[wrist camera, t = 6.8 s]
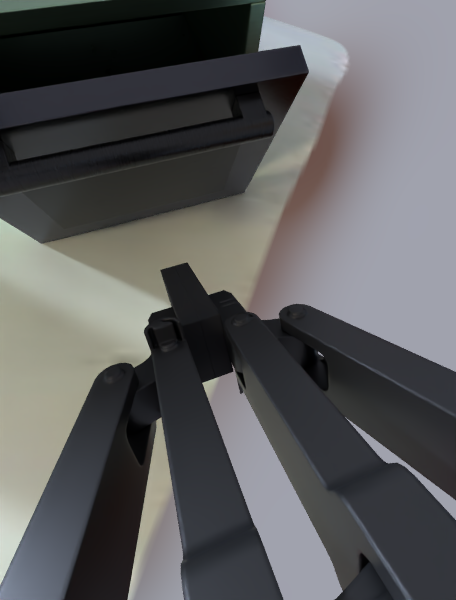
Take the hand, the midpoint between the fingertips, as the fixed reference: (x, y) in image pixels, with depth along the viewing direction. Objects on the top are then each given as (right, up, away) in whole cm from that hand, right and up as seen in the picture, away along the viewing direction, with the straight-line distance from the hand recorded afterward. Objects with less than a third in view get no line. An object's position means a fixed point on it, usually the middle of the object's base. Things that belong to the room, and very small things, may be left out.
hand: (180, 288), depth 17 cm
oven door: (-5, +7, +13) cm, 16 cm away
